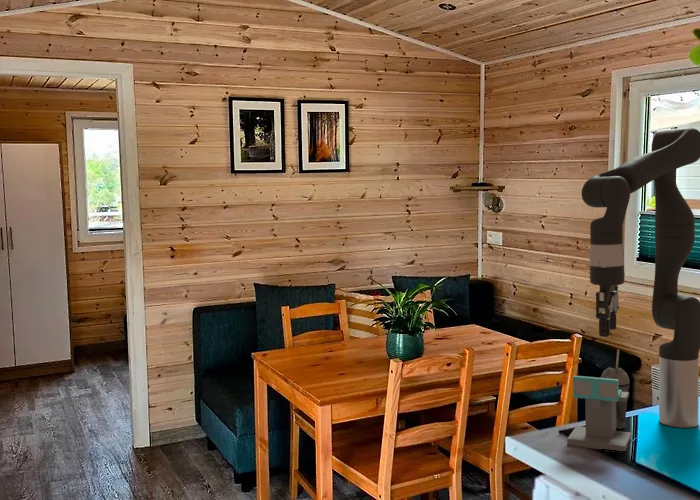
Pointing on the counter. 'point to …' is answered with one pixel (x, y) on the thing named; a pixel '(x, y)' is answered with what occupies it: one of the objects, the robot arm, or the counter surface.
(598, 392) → the teal c-shaped bracket
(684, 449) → the counter surface
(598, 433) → the stand
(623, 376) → the beverage cup
